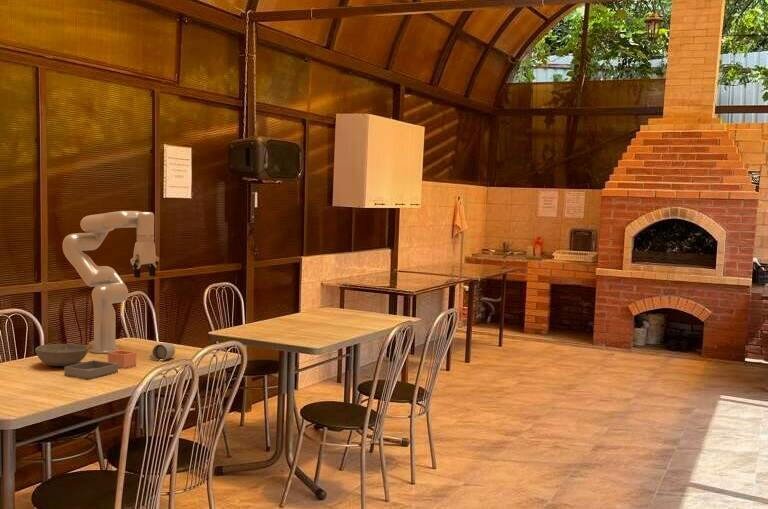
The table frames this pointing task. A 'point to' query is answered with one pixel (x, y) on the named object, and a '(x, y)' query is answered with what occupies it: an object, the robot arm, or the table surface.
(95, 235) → the robot arm
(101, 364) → the tray
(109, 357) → the crate small
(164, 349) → the ceramic mug
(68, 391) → the table surface
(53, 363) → the bowl
